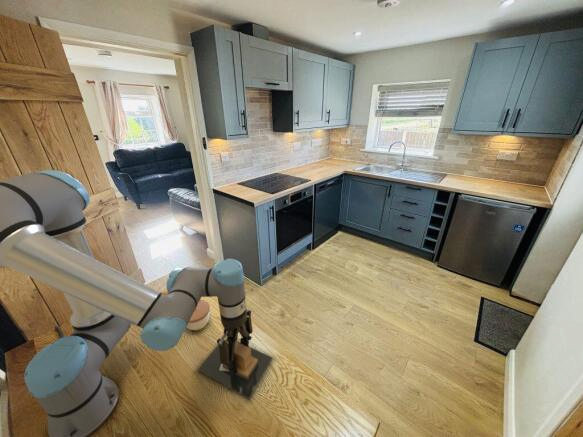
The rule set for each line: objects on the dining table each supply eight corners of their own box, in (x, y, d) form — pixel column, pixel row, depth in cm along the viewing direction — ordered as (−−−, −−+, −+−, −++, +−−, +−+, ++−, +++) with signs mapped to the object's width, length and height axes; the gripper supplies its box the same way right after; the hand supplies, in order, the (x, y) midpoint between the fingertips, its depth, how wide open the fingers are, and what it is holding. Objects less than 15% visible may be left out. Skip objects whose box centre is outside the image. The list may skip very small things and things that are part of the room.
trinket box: (216, 314, 99) (213, 297, 95) (205, 336, 89) (201, 318, 85) (191, 312, 100) (187, 295, 96) (178, 334, 90) (173, 316, 86)
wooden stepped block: (222, 367, 78) (219, 349, 74) (233, 352, 83) (231, 335, 79) (247, 381, 74) (245, 363, 71) (258, 364, 79) (256, 346, 75)
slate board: (198, 370, 78) (197, 369, 77) (226, 337, 89) (225, 335, 89) (249, 399, 70) (249, 398, 70) (272, 359, 82) (272, 357, 81)
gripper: (221, 340, 59) (230, 395, 68) (261, 292, 74) (264, 342, 84) (198, 329, 62) (210, 383, 71) (242, 285, 77) (246, 334, 87)
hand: (239, 361), depth 78 cm, fingers closed on wooden stepped block, 6 cm apart
